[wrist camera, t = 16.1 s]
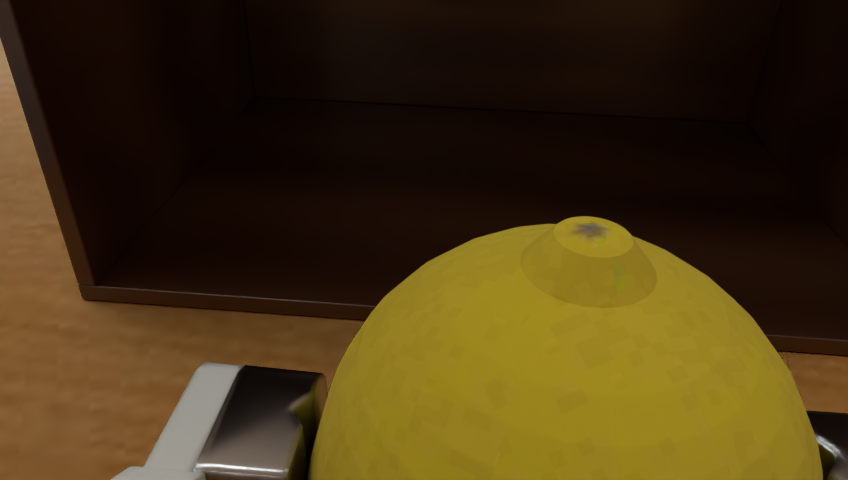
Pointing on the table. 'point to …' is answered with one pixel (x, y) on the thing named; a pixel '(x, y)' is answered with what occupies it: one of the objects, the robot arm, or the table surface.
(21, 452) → the table surface
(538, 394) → the lemon
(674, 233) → the cupboard
